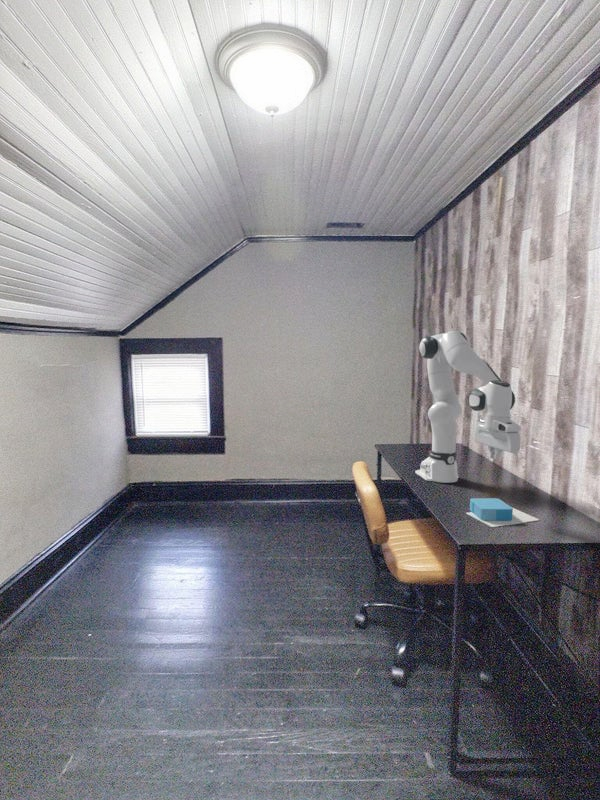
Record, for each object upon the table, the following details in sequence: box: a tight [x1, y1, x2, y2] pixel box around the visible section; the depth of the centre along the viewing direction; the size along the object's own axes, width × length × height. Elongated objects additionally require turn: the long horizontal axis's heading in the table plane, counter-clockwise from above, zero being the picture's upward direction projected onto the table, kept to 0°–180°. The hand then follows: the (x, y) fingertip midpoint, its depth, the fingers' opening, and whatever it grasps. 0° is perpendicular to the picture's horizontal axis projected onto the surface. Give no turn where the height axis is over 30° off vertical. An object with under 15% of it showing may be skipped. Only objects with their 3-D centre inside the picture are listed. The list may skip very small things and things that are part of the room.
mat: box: [465, 507, 540, 528], centre depth 162 cm, size 14×22×1 cm, turn 108°
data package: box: [469, 497, 514, 521], centre depth 163 cm, size 12×4×12 cm
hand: (494, 458), depth 164 cm, fingers closed
